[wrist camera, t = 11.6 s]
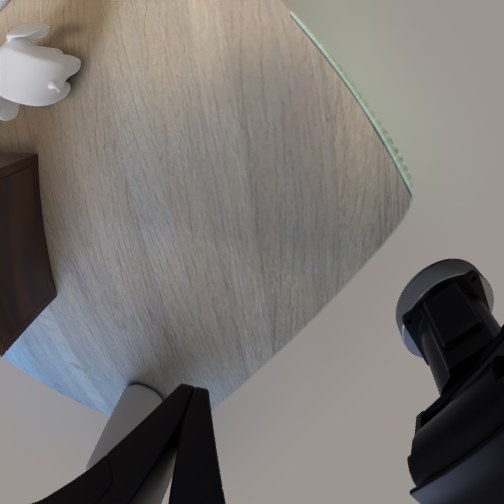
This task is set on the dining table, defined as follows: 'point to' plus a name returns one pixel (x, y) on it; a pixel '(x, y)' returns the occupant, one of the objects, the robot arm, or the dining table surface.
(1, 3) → the eye dropper bottle
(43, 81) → the elephant figurine
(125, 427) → the beverage can
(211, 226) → the dining table surface
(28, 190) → the box
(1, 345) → the lid
